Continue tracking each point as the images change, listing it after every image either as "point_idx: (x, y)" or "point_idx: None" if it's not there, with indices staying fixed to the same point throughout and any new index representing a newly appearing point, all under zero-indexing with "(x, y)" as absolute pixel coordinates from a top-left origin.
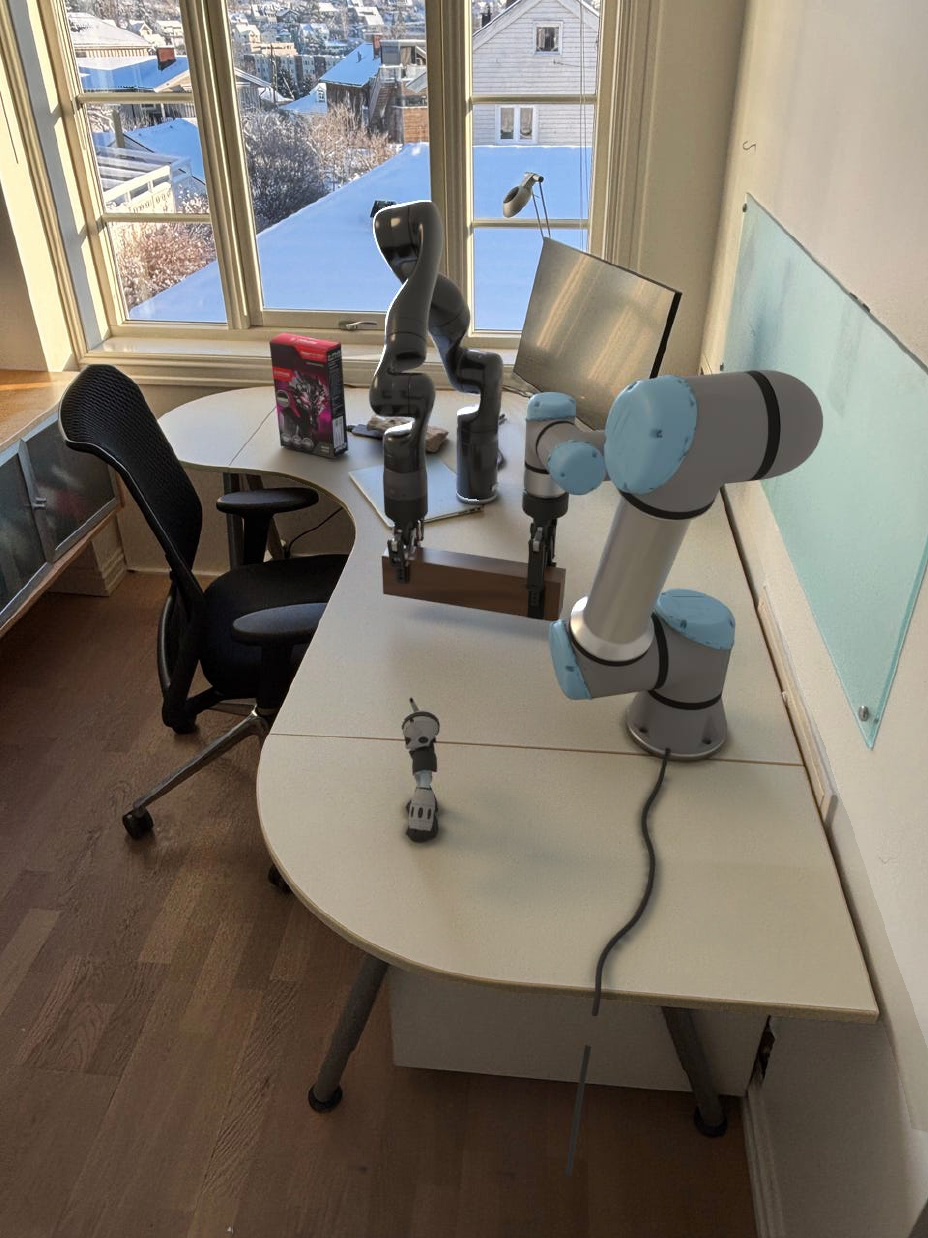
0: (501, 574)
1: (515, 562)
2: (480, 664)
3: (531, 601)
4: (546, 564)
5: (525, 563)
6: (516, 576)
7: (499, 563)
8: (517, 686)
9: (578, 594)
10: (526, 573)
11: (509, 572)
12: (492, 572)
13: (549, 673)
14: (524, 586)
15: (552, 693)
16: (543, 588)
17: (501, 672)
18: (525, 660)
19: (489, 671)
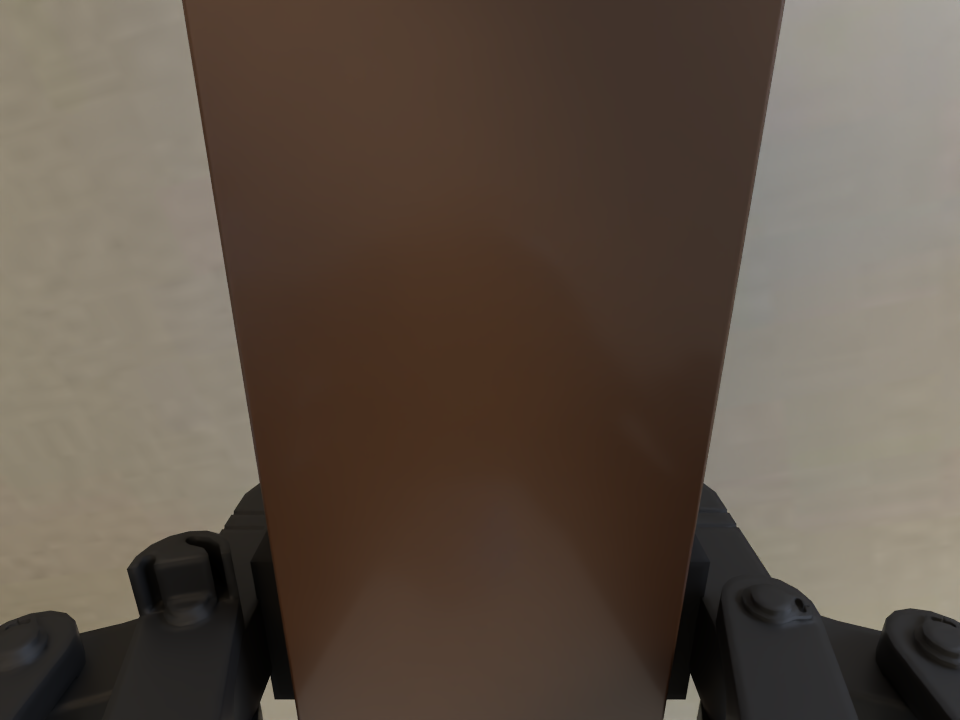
0: (221, 204)
1: (677, 352)
2: (72, 116)
3: (239, 511)
4: (714, 700)
5: (675, 494)
6: (257, 450)
7: (579, 68)
8: (3, 354)
9: (885, 481)
10: (391, 557)
11: (325, 328)
12: (187, 7)
13: (175, 468)
14: (146, 551)
15: (44, 503)
16: (273, 687)
17: (66, 253)
18: (223, 347)
19: (39, 186)
